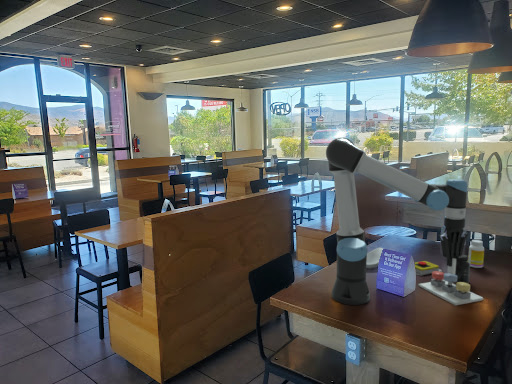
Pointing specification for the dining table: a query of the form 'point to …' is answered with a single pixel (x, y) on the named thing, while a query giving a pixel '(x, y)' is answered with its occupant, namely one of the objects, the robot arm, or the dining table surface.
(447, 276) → the slate button
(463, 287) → the ochre button
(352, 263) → the robot arm
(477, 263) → the supplement bottle
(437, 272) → the red button
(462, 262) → the supplement bottle
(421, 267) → the emergency button
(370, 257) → the spoon rest
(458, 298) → the console
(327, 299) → the dining table surface
